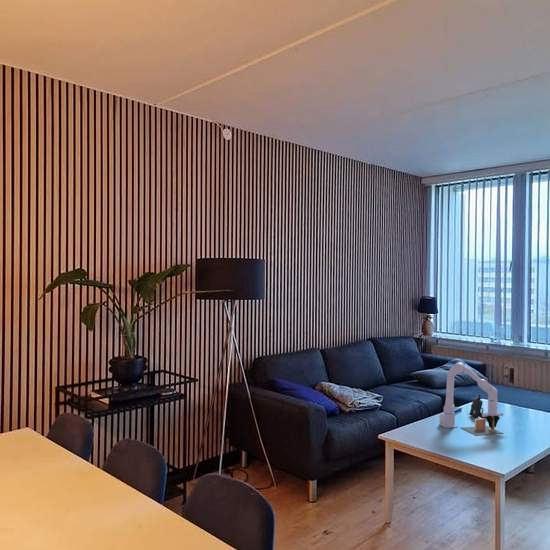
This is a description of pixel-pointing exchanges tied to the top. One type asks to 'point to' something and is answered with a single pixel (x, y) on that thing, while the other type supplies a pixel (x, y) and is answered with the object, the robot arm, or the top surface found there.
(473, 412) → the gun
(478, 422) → the tile
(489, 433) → the mat
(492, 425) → the tamper
